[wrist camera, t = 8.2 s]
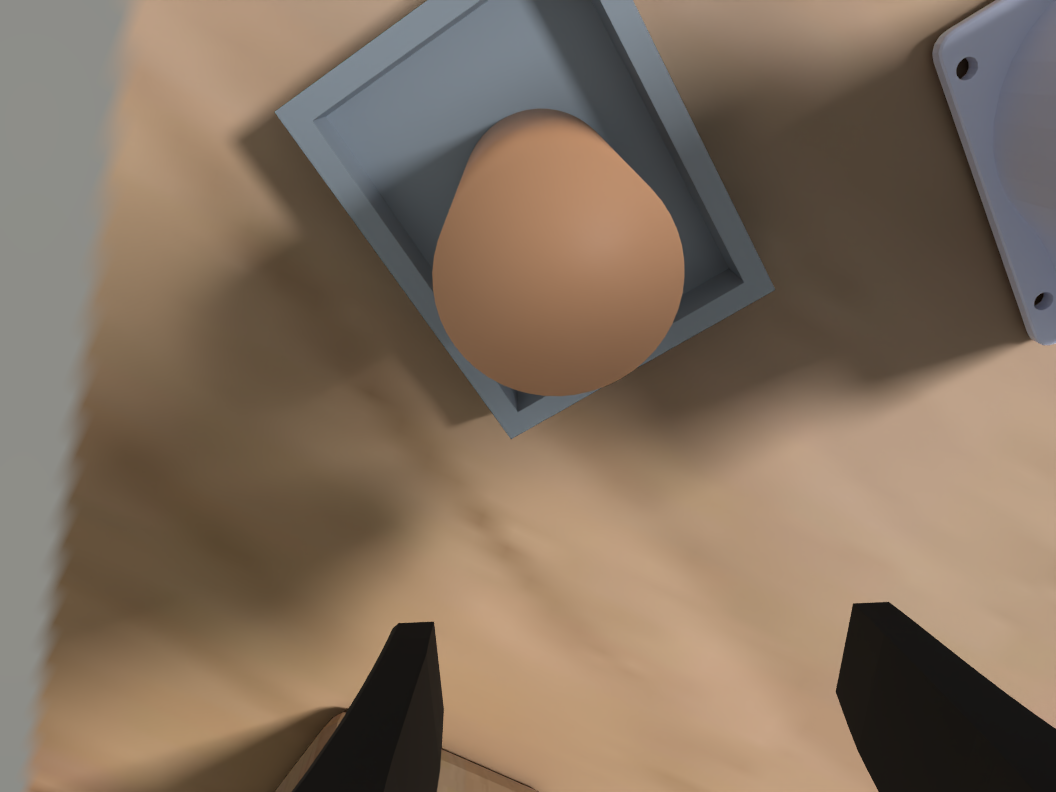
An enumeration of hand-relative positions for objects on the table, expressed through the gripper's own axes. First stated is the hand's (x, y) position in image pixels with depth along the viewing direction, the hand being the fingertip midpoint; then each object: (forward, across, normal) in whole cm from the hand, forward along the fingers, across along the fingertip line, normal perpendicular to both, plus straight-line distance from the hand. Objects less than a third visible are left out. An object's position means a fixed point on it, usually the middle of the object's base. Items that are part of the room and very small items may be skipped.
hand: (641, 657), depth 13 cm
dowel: (+10, +1, -6) cm, 12 cm away
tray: (+10, +1, -6) cm, 12 cm away
